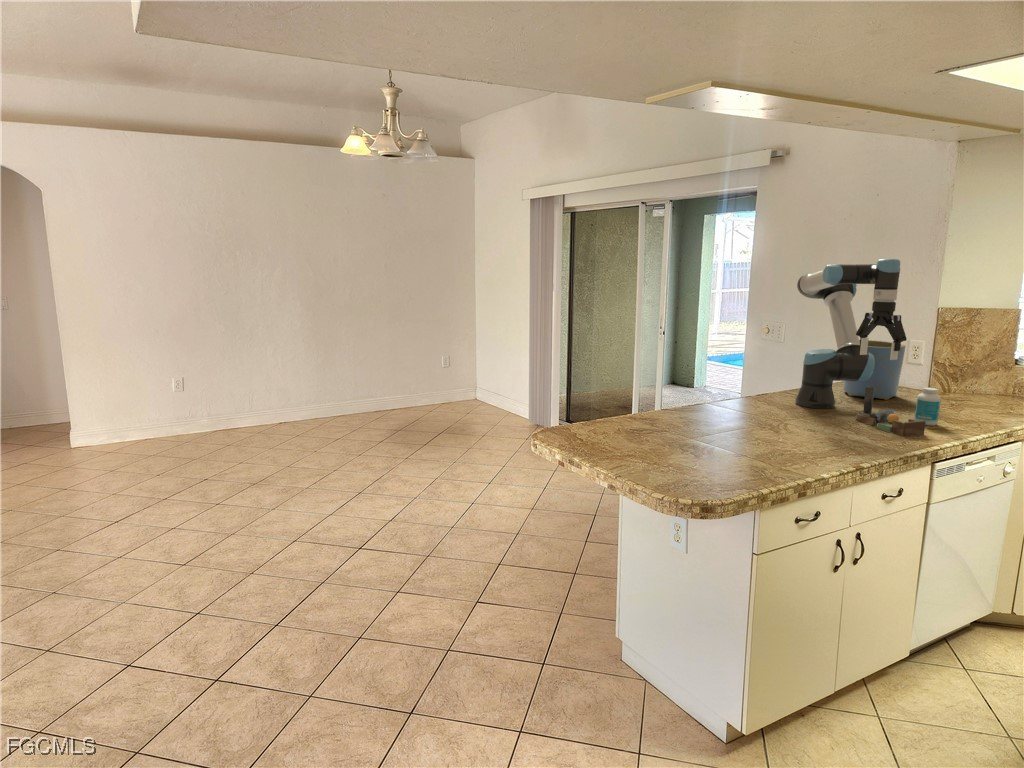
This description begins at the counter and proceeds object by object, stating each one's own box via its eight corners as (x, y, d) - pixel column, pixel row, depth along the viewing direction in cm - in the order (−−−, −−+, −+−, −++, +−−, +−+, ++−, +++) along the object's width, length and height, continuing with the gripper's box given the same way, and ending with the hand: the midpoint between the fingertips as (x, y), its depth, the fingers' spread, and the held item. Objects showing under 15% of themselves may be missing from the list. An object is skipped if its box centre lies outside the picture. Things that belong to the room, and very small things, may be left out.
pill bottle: (940, 426, 231) (946, 391, 228) (918, 425, 233) (923, 390, 230) (931, 421, 238) (936, 387, 236) (910, 420, 240) (915, 386, 237)
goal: (891, 432, 224) (892, 418, 223) (909, 430, 226) (911, 417, 225) (905, 436, 219) (906, 422, 218) (923, 434, 221) (925, 421, 220)
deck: (876, 428, 229) (877, 423, 229) (898, 426, 232) (899, 421, 231) (889, 432, 224) (889, 426, 224) (911, 430, 227) (912, 425, 226)
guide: (855, 419, 240) (856, 413, 240) (870, 418, 242) (871, 412, 242) (872, 425, 233) (873, 419, 232) (887, 424, 235) (888, 417, 234)
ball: (884, 422, 230) (885, 412, 229) (892, 421, 230) (893, 412, 230) (892, 424, 226) (894, 415, 225) (900, 424, 227) (902, 414, 226)
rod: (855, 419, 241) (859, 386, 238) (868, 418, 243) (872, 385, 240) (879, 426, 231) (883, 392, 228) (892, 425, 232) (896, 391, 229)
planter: (897, 403, 267) (904, 349, 262) (838, 396, 279) (844, 344, 274) (899, 393, 286) (906, 342, 281) (843, 387, 298) (849, 338, 293)
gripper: (849, 299, 244) (844, 353, 248) (906, 303, 221) (899, 362, 225) (864, 299, 246) (858, 352, 250) (922, 302, 223) (915, 361, 227)
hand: (878, 357), depth 237 cm, fingers open, 13 cm apart
